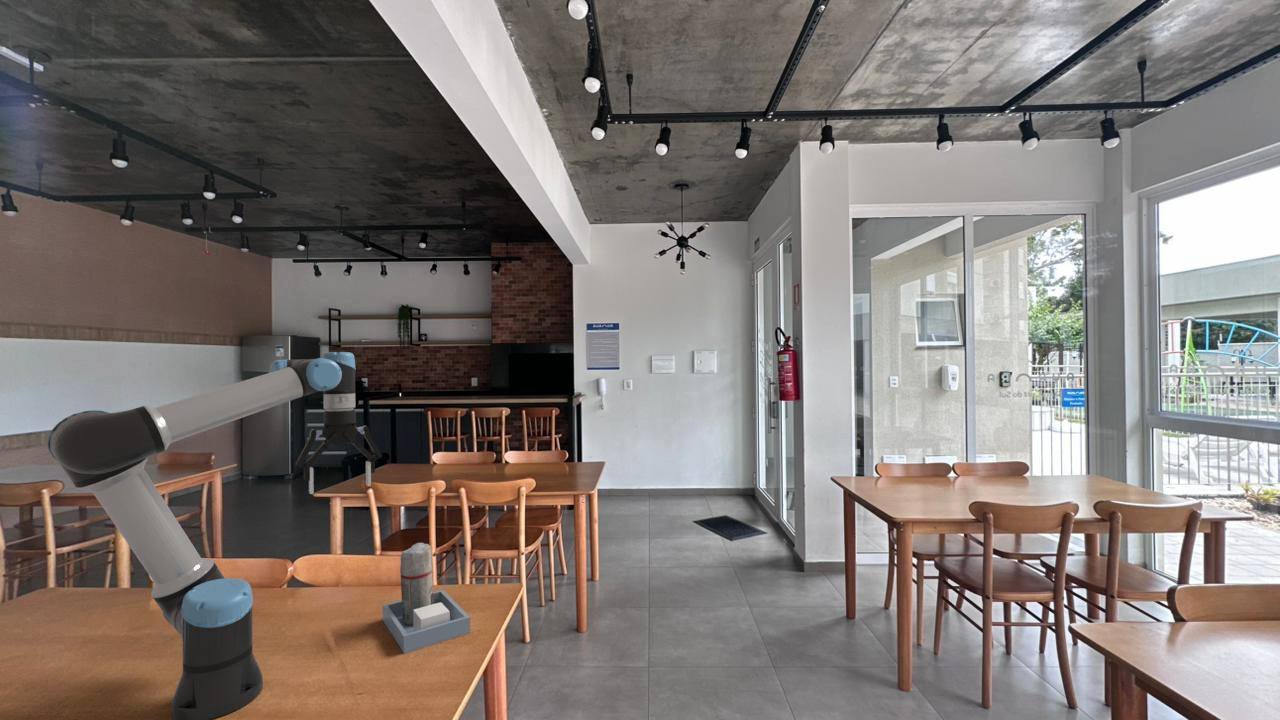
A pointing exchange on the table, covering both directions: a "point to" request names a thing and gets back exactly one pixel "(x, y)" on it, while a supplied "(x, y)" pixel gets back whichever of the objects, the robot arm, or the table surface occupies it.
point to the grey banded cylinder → (416, 580)
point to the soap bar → (430, 616)
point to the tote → (429, 635)
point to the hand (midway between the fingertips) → (340, 489)
